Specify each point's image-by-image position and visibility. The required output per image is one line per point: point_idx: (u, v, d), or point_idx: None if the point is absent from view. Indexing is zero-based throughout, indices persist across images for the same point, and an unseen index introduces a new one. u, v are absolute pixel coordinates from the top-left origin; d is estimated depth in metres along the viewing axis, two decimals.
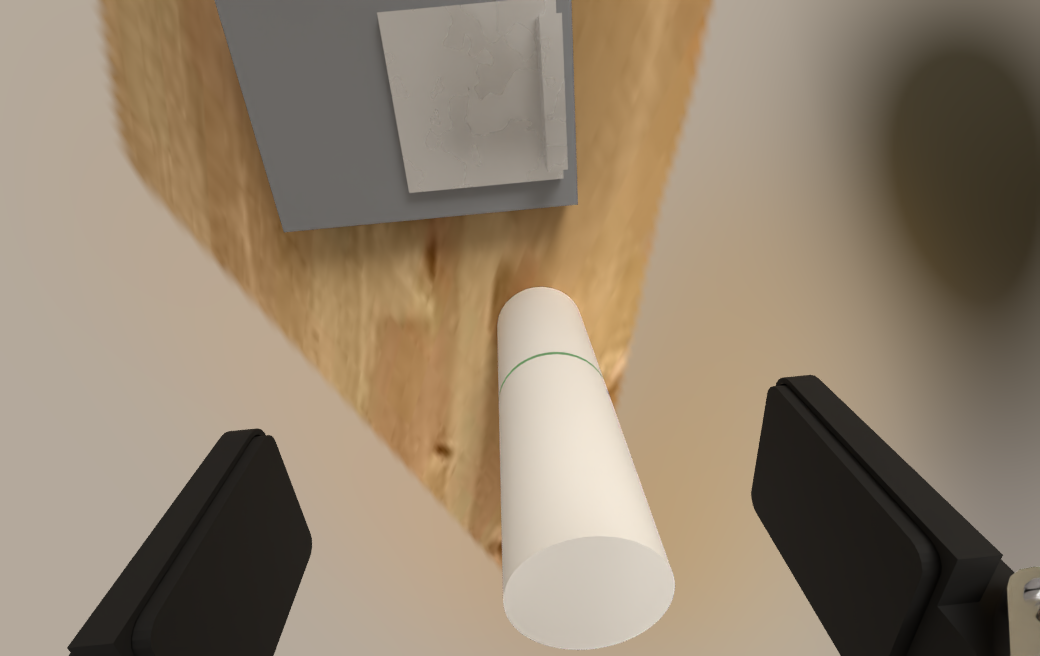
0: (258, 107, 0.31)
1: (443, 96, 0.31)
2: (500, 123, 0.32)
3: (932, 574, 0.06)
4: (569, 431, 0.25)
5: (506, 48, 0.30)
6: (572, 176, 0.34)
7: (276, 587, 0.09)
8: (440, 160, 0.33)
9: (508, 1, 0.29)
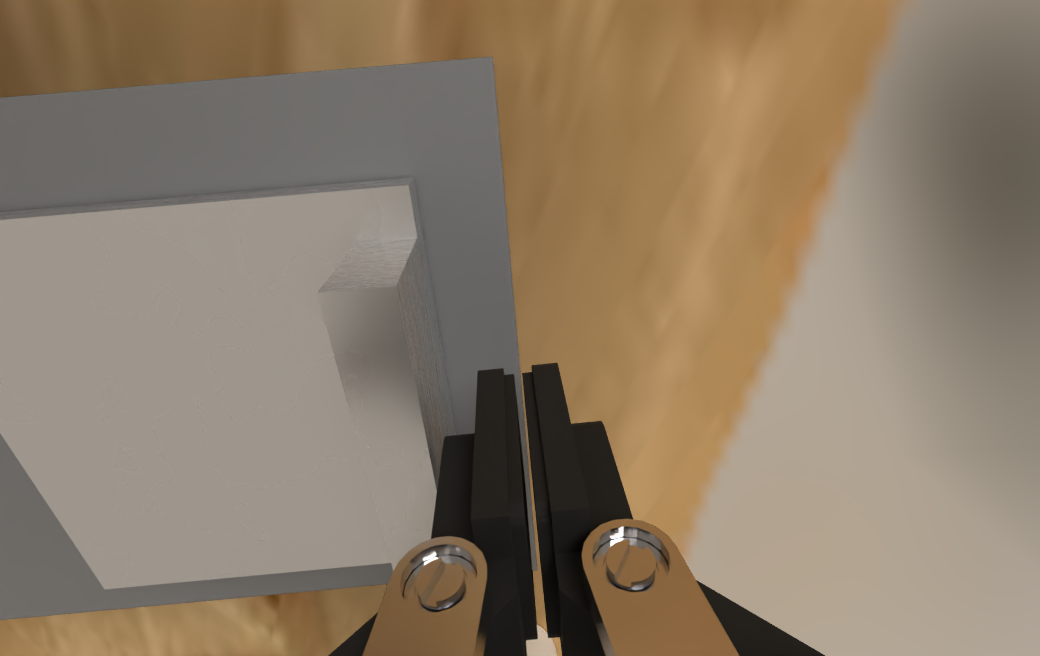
0: None
1: (133, 416, 0.12)
2: (299, 465, 0.12)
3: (547, 526, 0.07)
4: None
5: (284, 312, 0.11)
6: None
7: (526, 507, 0.10)
8: (163, 534, 0.13)
9: (266, 200, 0.10)
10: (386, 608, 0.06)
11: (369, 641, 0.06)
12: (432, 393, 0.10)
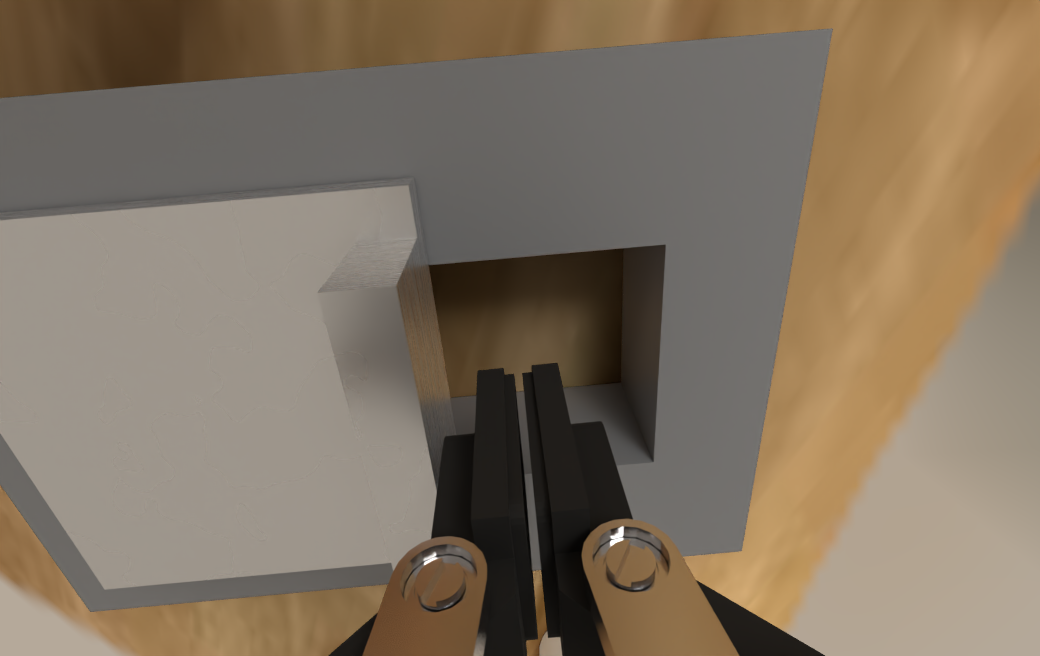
0: None
1: (133, 416, 0.12)
2: (299, 465, 0.12)
3: (547, 526, 0.07)
4: None
5: (284, 313, 0.11)
6: (740, 507, 0.15)
7: (526, 507, 0.10)
8: (163, 534, 0.13)
9: (266, 200, 0.10)
10: (386, 608, 0.06)
11: (369, 641, 0.06)
12: (432, 393, 0.10)
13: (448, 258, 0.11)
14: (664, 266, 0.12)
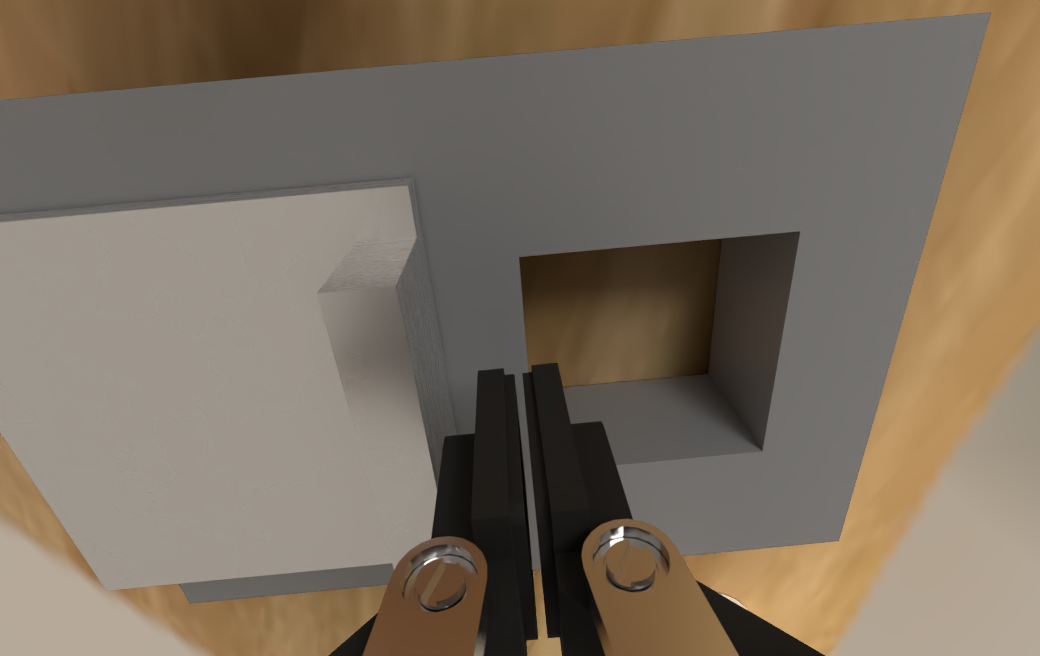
0: None
1: (134, 417, 0.12)
2: (300, 466, 0.12)
3: (547, 526, 0.07)
4: None
5: (284, 313, 0.11)
6: (842, 496, 0.15)
7: None
8: (165, 535, 0.13)
9: (265, 201, 0.10)
10: (386, 608, 0.06)
11: (369, 641, 0.06)
12: (432, 393, 0.10)
13: (584, 246, 0.11)
14: (795, 254, 0.12)
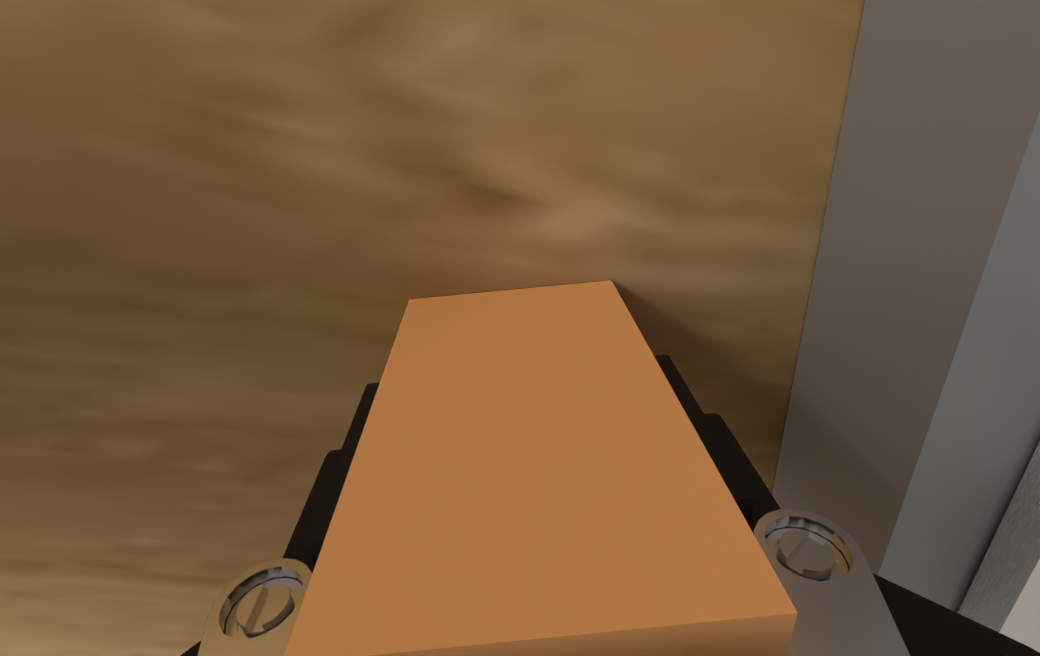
0: None
1: None
2: None
3: None
4: None
5: None
6: None
7: None
8: None
9: None
10: (206, 650, 0.06)
11: None
12: None
13: None
14: None
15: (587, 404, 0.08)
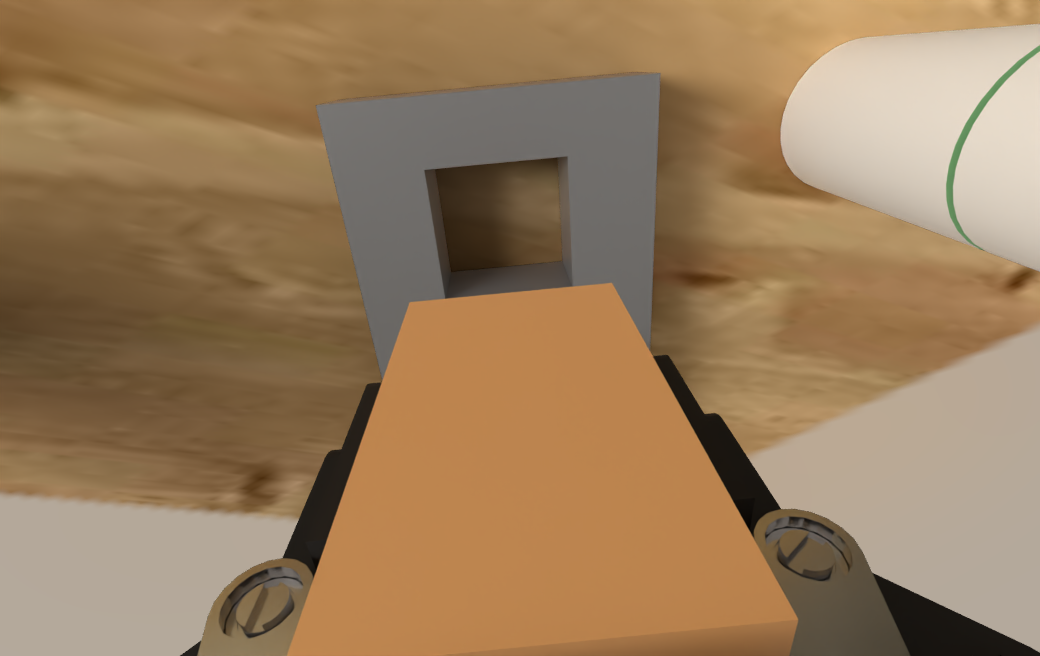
0: None
1: None
2: None
3: None
4: None
5: None
6: (614, 84, 0.21)
7: None
8: None
9: None
10: (206, 650, 0.06)
11: None
12: None
13: (438, 273, 0.24)
14: (437, 168, 0.22)
15: (588, 408, 0.08)
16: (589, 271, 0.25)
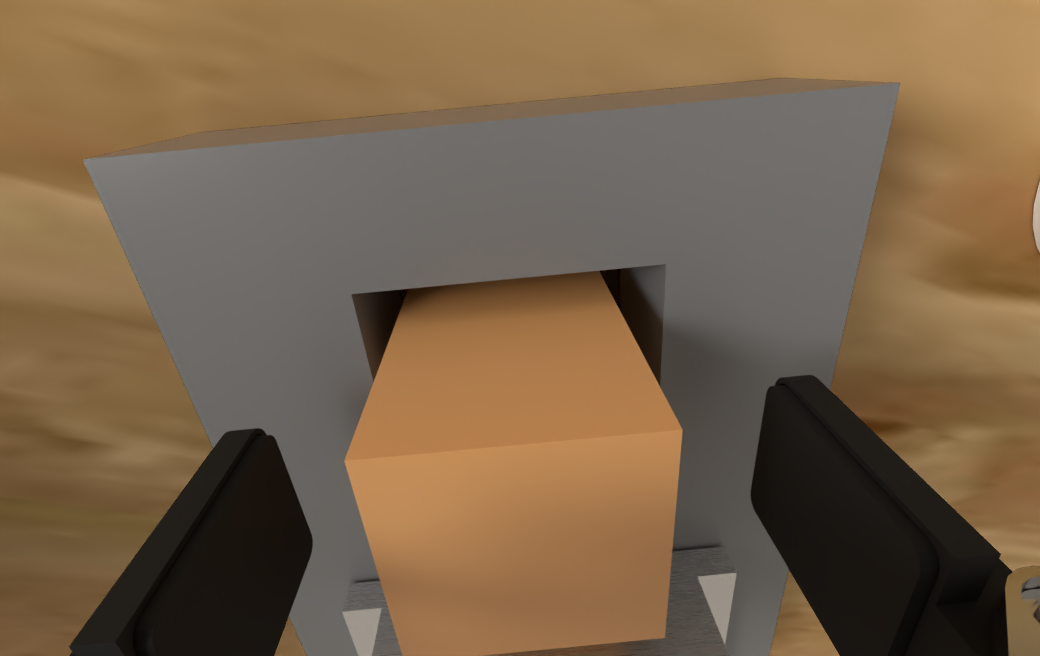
0: None
1: None
2: None
3: (930, 573, 0.06)
4: None
5: None
6: (789, 109, 0.09)
7: (277, 586, 0.09)
8: None
9: None
10: None
11: None
12: None
13: None
14: (379, 290, 0.10)
15: (558, 325, 0.10)
16: (689, 468, 0.13)
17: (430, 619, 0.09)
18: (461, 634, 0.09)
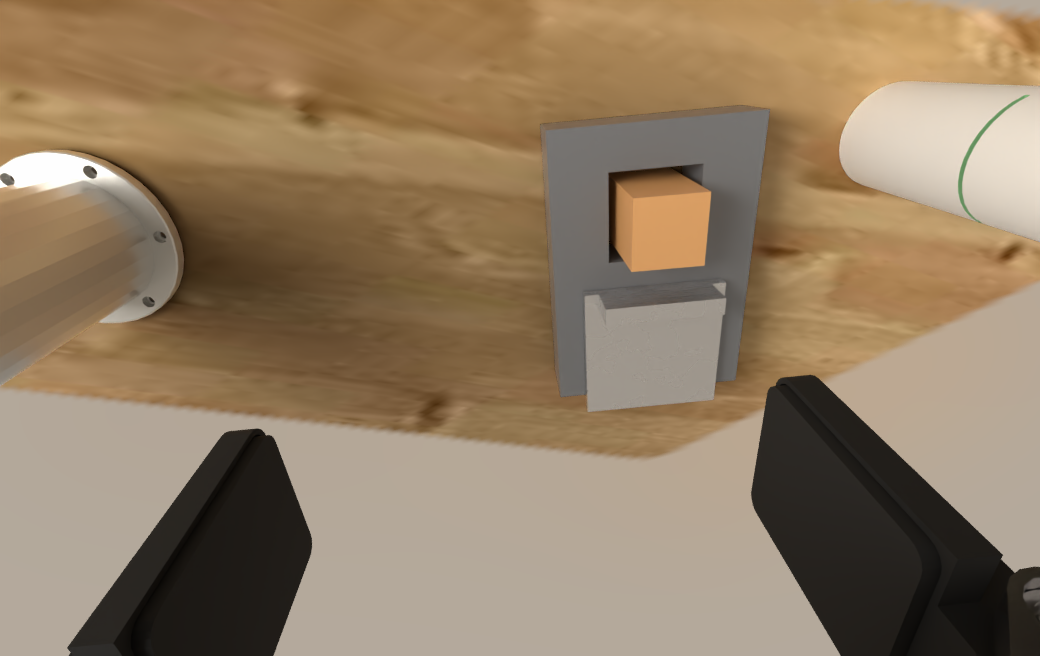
0: None
1: (646, 373, 0.39)
2: (671, 334, 0.38)
3: (932, 574, 0.06)
4: None
5: (617, 330, 0.38)
6: (739, 116, 0.32)
7: (276, 587, 0.09)
8: (692, 377, 0.40)
9: (586, 329, 0.37)
10: None
11: None
12: (643, 298, 0.35)
13: (607, 243, 0.35)
14: (616, 171, 0.33)
15: (671, 181, 0.33)
16: (709, 242, 0.36)
17: (641, 254, 0.32)
18: (649, 261, 0.32)
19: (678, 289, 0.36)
